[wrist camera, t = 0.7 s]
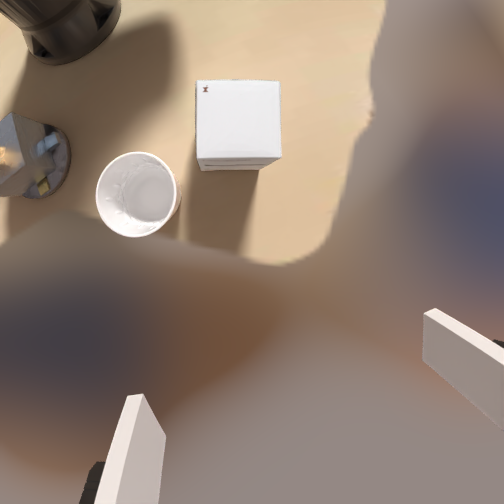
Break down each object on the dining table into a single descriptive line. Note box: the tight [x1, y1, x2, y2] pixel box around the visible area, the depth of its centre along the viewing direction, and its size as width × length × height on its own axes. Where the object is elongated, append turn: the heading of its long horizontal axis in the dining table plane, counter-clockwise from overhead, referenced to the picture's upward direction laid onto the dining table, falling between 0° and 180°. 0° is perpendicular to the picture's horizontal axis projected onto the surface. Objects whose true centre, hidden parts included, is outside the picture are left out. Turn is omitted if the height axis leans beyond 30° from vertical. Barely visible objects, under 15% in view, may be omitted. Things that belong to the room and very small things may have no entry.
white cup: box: [96, 152, 182, 238], centre depth 31 cm, size 8×8×10 cm
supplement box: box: [195, 79, 282, 171], centre depth 30 cm, size 7×7×13 cm
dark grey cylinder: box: [22, 124, 71, 199], centre depth 29 cm, size 10×10×9 cm
